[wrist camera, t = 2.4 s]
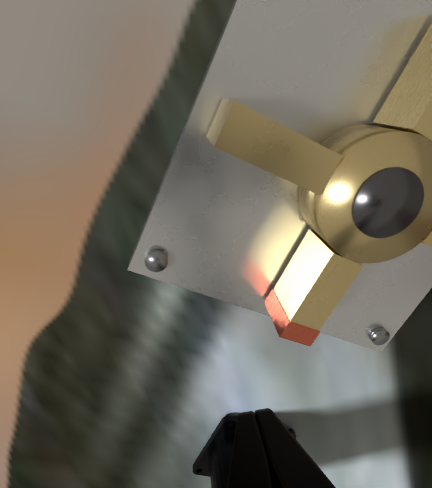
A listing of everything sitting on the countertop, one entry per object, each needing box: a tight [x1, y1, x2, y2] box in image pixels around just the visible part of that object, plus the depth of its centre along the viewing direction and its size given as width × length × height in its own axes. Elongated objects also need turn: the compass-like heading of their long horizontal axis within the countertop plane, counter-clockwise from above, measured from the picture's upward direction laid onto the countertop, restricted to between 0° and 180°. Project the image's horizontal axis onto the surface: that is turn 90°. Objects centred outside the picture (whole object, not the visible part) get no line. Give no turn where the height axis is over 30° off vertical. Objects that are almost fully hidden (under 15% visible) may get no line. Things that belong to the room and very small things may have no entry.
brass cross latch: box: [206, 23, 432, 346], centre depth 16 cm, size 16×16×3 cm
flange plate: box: [128, 0, 432, 352], centre depth 18 cm, size 18×18×2 cm
